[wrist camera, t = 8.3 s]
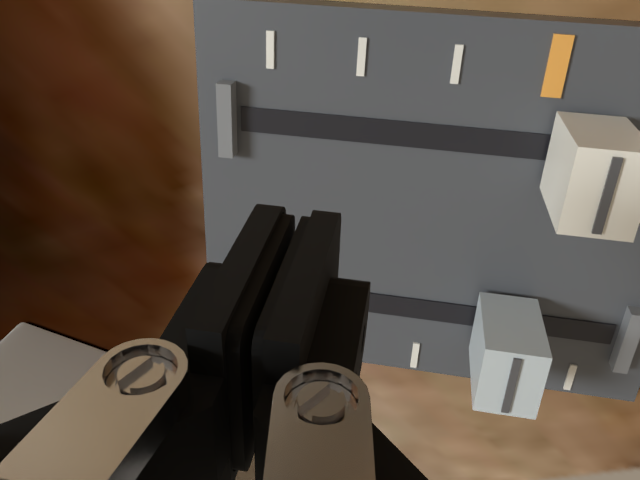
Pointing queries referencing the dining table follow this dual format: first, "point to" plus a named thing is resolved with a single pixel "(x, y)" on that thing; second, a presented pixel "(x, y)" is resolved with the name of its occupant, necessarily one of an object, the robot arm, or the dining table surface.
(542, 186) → the fader
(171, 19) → the dining table surface
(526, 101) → the console
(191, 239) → the dining table surface
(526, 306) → the fader
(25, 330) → the milk carton
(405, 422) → the dining table surface
